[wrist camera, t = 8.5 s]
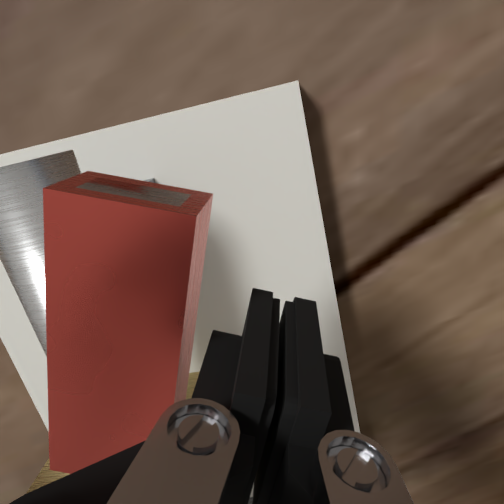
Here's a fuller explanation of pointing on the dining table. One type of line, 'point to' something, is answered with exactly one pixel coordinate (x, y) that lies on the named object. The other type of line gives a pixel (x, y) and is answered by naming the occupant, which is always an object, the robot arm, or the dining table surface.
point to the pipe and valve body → (35, 247)
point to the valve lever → (118, 309)
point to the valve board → (214, 215)
